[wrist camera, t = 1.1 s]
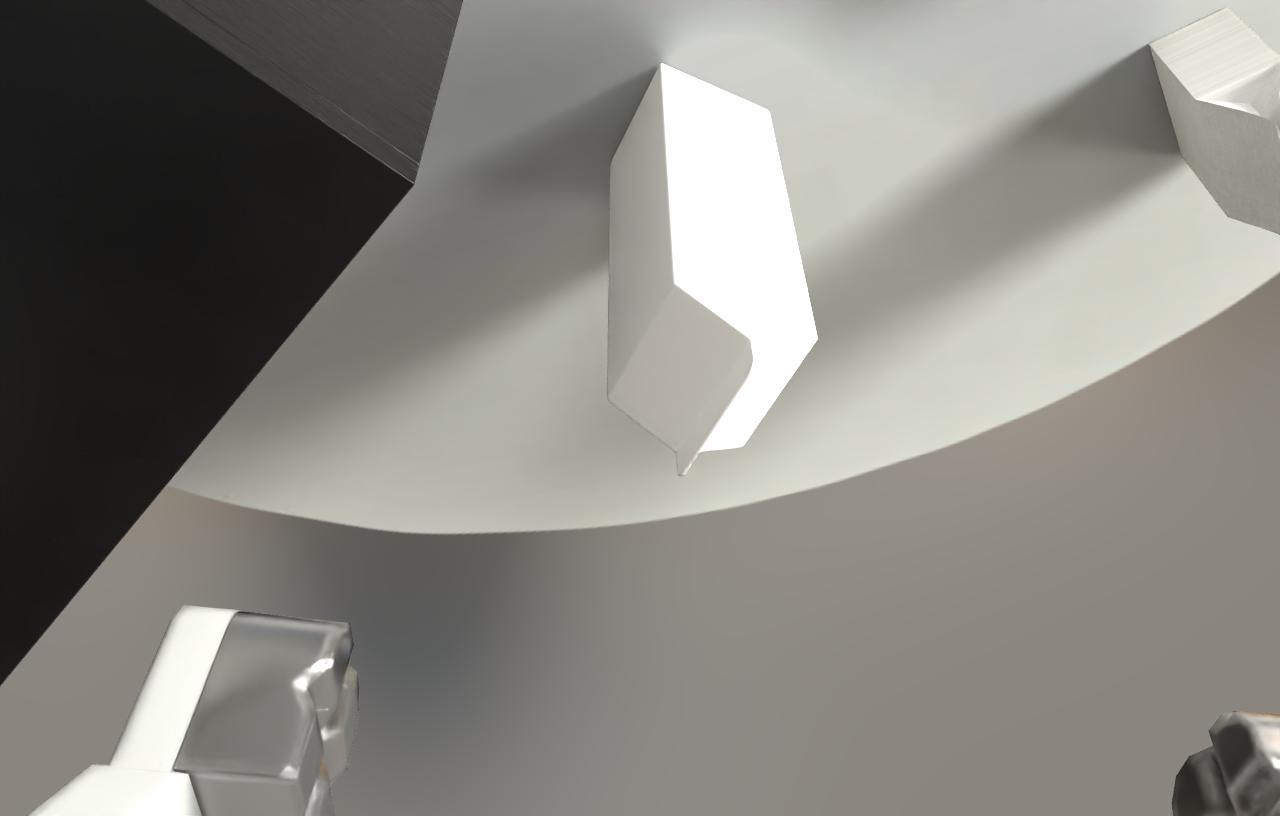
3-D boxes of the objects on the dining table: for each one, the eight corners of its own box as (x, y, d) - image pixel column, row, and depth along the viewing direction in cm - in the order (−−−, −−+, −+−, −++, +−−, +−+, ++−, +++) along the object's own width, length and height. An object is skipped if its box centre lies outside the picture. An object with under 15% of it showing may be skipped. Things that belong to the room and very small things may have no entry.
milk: (609, 162, 60) (599, 456, 43) (661, 58, 57) (673, 334, 40) (716, 207, 62) (747, 506, 45) (773, 109, 59) (830, 393, 42)
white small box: (1181, 156, 60) (1263, 264, 53) (1148, 44, 57) (1232, 142, 49) (1256, 123, 59) (1351, 228, 52) (1228, 6, 56) (1326, 101, 48)
